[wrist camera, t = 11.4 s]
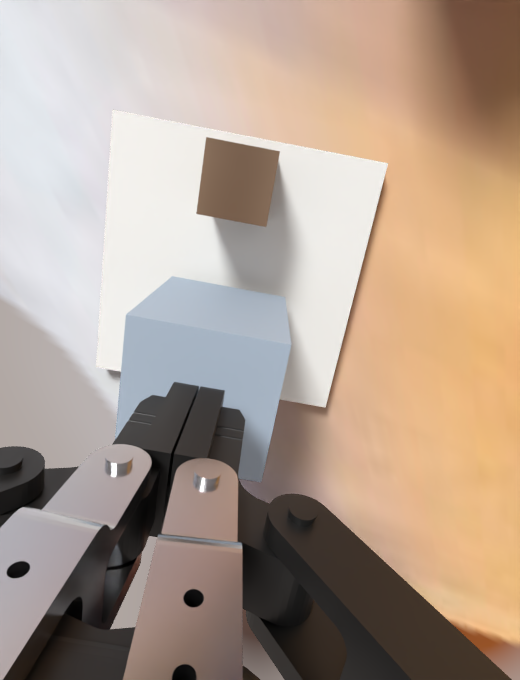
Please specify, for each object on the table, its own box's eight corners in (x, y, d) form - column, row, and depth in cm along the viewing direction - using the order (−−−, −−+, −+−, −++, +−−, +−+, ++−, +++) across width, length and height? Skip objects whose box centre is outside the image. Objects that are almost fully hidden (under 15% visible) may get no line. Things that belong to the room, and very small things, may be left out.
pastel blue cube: (285, 296, 20) (291, 344, 14) (264, 398, 22) (261, 482, 15) (172, 276, 20) (125, 314, 13) (159, 380, 21) (113, 457, 15)
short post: (278, 159, 19) (279, 151, 15) (267, 220, 20) (266, 227, 16) (219, 148, 19) (206, 136, 15) (210, 210, 20) (196, 213, 16)
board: (382, 164, 20) (388, 163, 19) (323, 398, 24) (325, 407, 23) (120, 113, 19) (112, 109, 18) (103, 360, 23) (95, 367, 22)
